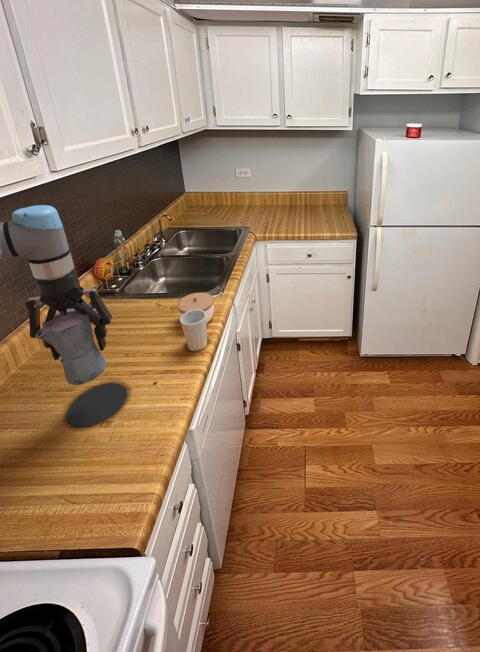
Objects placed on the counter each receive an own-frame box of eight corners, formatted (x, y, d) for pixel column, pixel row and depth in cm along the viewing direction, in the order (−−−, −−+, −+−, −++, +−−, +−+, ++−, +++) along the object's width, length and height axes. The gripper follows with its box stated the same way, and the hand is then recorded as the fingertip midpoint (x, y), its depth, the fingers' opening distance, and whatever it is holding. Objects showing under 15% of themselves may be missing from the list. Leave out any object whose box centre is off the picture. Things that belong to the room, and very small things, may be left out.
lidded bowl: (208, 308, 133) (205, 284, 129) (221, 323, 124) (218, 298, 120) (176, 320, 126) (171, 295, 122) (187, 337, 116) (183, 311, 112)
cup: (190, 337, 116) (186, 309, 112) (213, 338, 116) (209, 310, 112) (181, 354, 109) (175, 324, 105) (205, 354, 109) (200, 324, 104)
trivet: (59, 437, 82) (58, 434, 82) (76, 393, 95) (75, 390, 94) (122, 420, 87) (122, 417, 86) (131, 380, 99) (130, 377, 99)
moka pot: (43, 387, 81) (18, 319, 74) (102, 347, 94) (86, 286, 87) (70, 399, 78) (47, 329, 70) (127, 356, 91) (112, 293, 84)
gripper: (113, 259, 82) (131, 332, 90) (4, 273, 75) (35, 351, 83) (106, 273, 75) (126, 351, 84) (-14, 289, 68) (22, 373, 77)
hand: (81, 351), depth 83 cm, fingers closed on moka pot, 9 cm apart
